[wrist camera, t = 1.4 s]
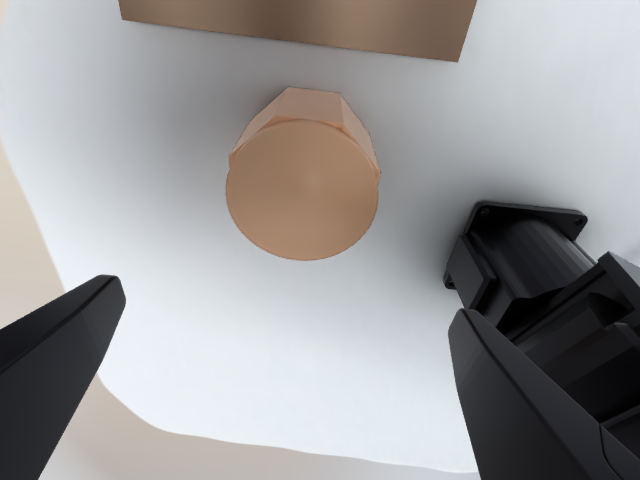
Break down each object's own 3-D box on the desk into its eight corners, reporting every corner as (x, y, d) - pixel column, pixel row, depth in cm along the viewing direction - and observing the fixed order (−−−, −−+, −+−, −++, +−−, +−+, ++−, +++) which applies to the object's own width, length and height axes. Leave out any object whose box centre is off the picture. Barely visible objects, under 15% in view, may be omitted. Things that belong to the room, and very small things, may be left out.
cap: (376, 97, 16) (394, 135, 12) (355, 205, 20) (362, 266, 15) (250, 82, 16) (220, 116, 12) (251, 194, 20) (229, 253, 15)
